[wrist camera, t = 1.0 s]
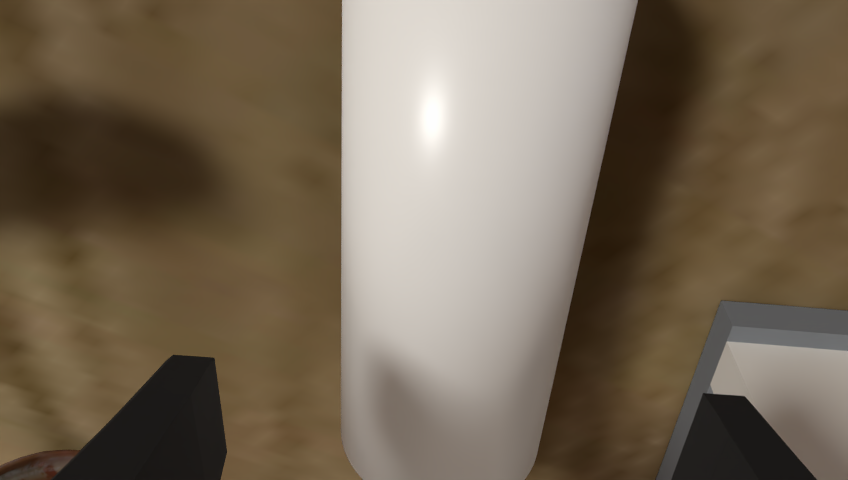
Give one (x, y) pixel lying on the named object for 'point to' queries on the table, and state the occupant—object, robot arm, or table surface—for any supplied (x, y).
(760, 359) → the holder
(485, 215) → the cylinder
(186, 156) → the table surface
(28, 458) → the tin
